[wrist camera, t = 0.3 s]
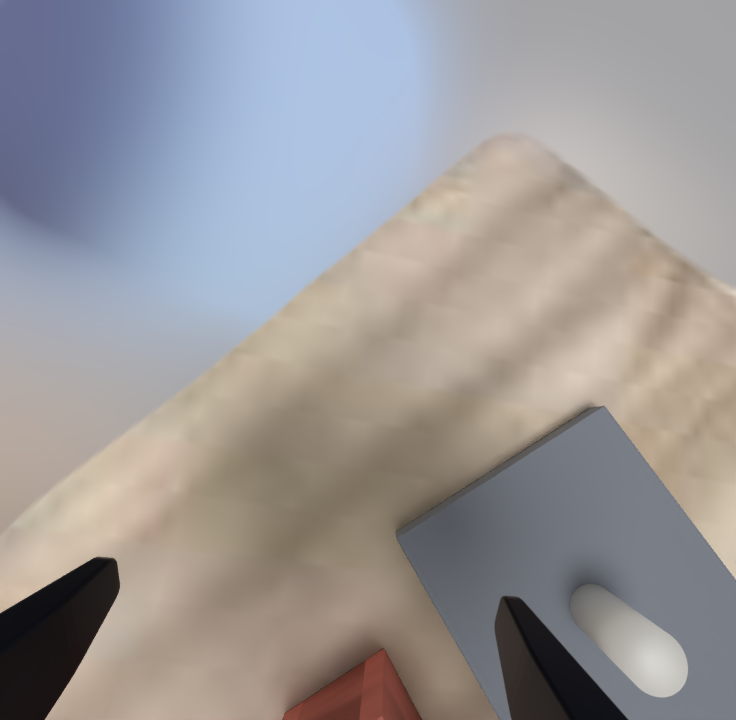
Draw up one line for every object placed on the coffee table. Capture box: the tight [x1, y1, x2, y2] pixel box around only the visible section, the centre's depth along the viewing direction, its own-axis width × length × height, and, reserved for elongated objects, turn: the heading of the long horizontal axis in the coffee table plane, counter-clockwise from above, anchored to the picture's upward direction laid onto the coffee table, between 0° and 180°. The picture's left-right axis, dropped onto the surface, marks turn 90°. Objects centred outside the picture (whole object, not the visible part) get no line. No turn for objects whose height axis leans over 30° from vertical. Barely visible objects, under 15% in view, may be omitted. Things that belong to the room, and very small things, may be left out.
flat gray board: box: [396, 406, 736, 720], centre depth 17 cm, size 16×14×6 cm
